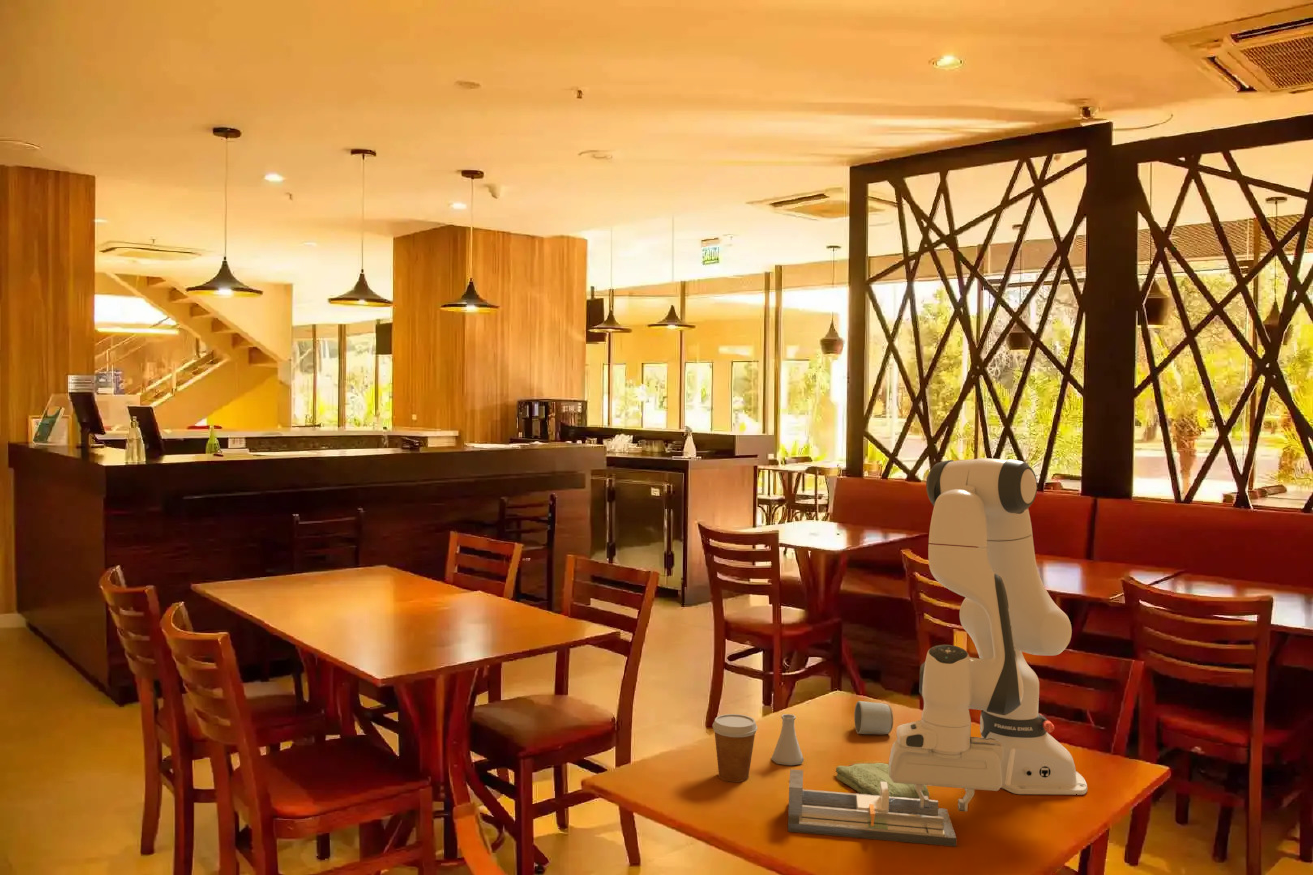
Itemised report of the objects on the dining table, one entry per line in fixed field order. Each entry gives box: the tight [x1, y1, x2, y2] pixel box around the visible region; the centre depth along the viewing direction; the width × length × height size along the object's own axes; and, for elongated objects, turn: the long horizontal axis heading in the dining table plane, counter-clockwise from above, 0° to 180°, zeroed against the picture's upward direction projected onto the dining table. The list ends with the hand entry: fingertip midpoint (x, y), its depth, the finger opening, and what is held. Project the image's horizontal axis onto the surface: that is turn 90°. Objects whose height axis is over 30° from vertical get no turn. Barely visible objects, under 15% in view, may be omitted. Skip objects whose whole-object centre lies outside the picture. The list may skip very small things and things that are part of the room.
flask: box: [770, 713, 804, 766], centre depth 213 cm, size 7×7×10 cm
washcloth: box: [835, 762, 930, 799], centre depth 199 cm, size 13×18×3 cm
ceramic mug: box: [853, 700, 894, 735], centre depth 234 cm, size 11×8×8 cm
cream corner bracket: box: [856, 781, 889, 826], centre depth 179 cm, size 6×10×5 cm, turn 171°
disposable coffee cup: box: [711, 713, 758, 783], centre depth 203 cm, size 10×10×12 cm
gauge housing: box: [787, 769, 957, 848], centre depth 181 cm, size 30×13×8 cm, turn 81°
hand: (943, 808), depth 179 cm, fingers open, 5 cm apart
